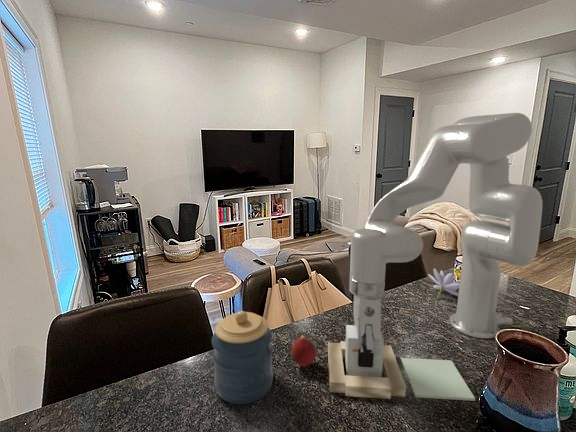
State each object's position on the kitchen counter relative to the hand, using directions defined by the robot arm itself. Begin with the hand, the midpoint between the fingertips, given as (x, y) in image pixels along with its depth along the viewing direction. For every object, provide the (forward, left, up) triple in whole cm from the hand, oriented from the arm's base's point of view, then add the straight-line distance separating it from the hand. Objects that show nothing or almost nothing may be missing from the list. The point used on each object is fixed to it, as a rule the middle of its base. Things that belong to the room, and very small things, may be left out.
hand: (363, 356), depth 73 cm
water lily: (-35, -42, -4) cm, 55 cm away
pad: (-16, +1, -4) cm, 17 cm away
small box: (0, 0, -4) cm, 4 cm away
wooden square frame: (0, 0, -4) cm, 4 cm away
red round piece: (+14, -1, -4) cm, 15 cm away
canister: (+27, +6, -4) cm, 28 cm away
